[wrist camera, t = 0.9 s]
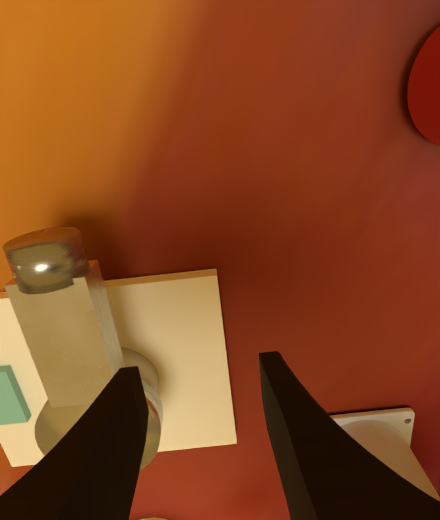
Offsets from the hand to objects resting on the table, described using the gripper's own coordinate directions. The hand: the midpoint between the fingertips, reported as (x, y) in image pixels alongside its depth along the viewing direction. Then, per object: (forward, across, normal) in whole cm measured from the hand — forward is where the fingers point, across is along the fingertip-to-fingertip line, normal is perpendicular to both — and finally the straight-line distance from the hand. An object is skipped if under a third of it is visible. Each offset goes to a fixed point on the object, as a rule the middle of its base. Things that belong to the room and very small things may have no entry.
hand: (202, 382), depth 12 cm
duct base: (+10, +8, +7) cm, 15 cm away
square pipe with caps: (+7, +7, +3) cm, 11 cm away
